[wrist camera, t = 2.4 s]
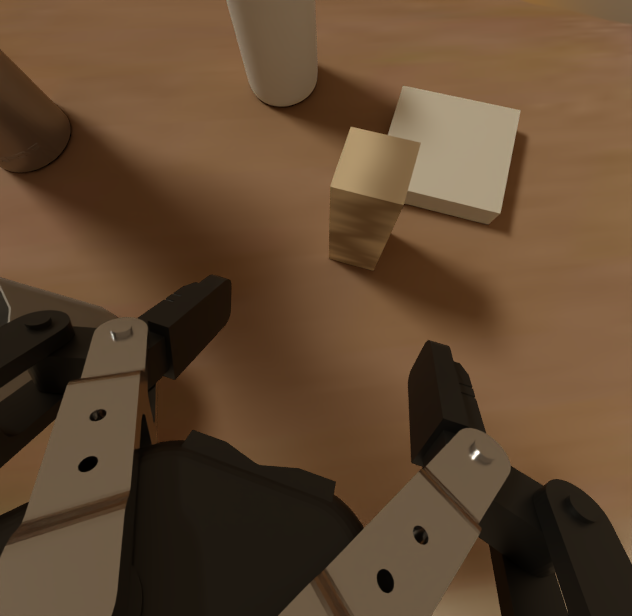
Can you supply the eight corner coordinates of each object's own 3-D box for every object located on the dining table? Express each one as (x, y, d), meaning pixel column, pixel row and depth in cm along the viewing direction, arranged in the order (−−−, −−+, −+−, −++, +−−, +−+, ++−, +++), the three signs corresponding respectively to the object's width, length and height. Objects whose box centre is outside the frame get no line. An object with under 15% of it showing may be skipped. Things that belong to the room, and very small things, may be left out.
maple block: (328, 258, 28) (330, 186, 17) (341, 218, 29) (350, 126, 18) (373, 270, 27) (403, 205, 17) (385, 230, 28) (420, 142, 18)
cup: (143, 331, 27) (39, 308, 17) (89, 412, 25) (-59, 437, 16) (75, 291, 28) (-59, 248, 18) (20, 366, 26) (-158, 362, 17)
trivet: (370, 194, 29) (373, 182, 27) (398, 103, 32) (402, 85, 30) (488, 224, 28) (500, 213, 26) (508, 127, 30) (520, 110, 28)
